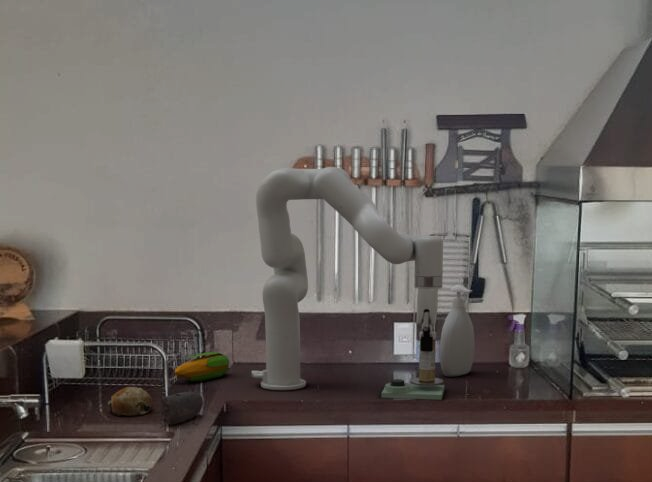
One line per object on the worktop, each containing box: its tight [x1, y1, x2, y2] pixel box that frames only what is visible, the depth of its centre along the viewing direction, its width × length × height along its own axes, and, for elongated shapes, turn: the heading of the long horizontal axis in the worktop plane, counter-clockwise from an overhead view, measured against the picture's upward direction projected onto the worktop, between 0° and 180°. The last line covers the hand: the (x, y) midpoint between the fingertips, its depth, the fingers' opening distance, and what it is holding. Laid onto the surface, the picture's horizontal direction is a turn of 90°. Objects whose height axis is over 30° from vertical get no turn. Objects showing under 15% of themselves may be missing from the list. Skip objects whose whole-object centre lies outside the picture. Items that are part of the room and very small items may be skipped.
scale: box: [380, 382, 445, 401], centre depth 243 cm, size 16×12×3 cm
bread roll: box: [107, 386, 154, 417], centre depth 221 cm, size 10×10×8 cm
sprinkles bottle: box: [418, 330, 437, 382], centre depth 243 cm, size 5×5×13 cm
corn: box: [173, 351, 231, 382], centre depth 259 cm, size 7×8×20 cm
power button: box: [390, 378, 405, 387], centre depth 241 cm, size 4×4×2 cm
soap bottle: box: [439, 284, 475, 378], centre depth 267 cm, size 14×8×27 cm, turn 137°
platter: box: [410, 377, 444, 386], centre depth 244 cm, size 9×9×1 cm
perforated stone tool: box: [159, 391, 204, 426], centre depth 213 cm, size 15×5×7 cm, turn 155°
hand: (427, 348), depth 243 cm, fingers closed on sprinkles bottle, 4 cm apart
